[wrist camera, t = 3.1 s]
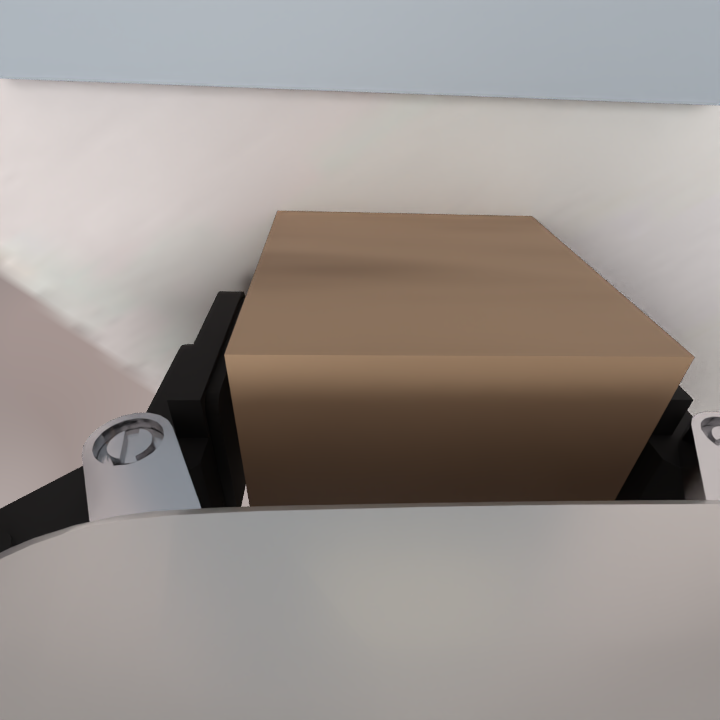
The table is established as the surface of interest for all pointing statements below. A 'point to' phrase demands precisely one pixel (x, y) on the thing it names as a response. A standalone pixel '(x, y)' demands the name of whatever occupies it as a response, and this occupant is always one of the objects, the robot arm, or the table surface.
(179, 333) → the table surface
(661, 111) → the table surface
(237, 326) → the walnut cube
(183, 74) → the build board
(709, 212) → the table surface
